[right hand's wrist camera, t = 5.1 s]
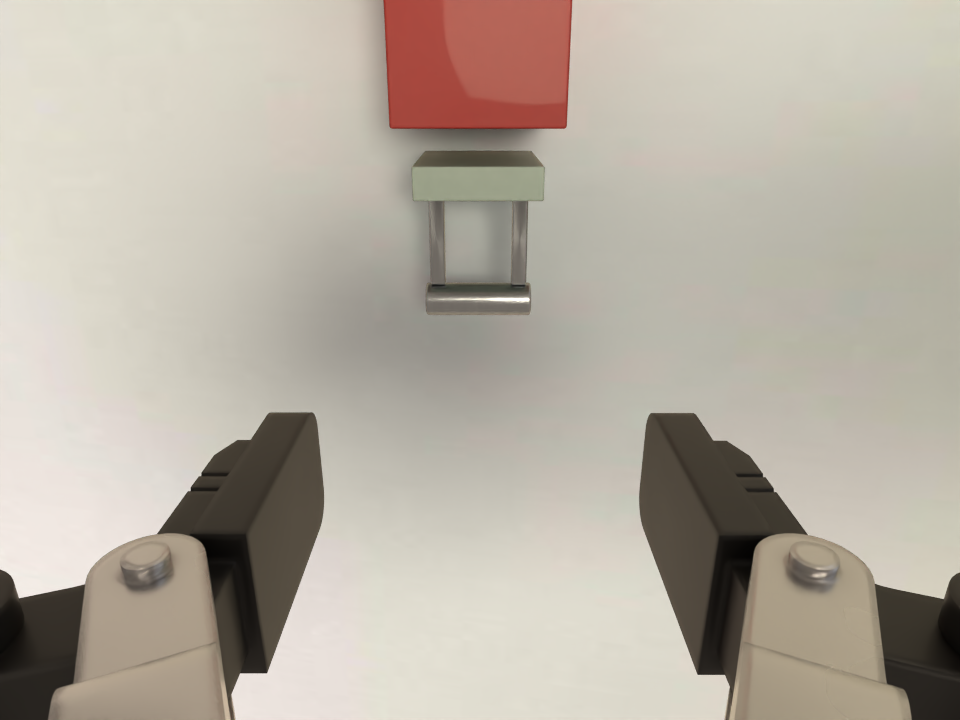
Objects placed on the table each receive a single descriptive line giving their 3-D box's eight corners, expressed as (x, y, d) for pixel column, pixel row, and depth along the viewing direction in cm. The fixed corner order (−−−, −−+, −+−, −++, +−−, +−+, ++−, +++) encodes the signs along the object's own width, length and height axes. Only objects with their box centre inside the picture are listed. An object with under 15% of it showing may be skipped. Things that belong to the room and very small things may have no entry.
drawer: (528, 289, 32) (538, 335, 26) (428, 289, 32) (417, 335, 26) (545, -362, 24) (568, -513, 18) (410, -362, 24) (387, -514, 18)
